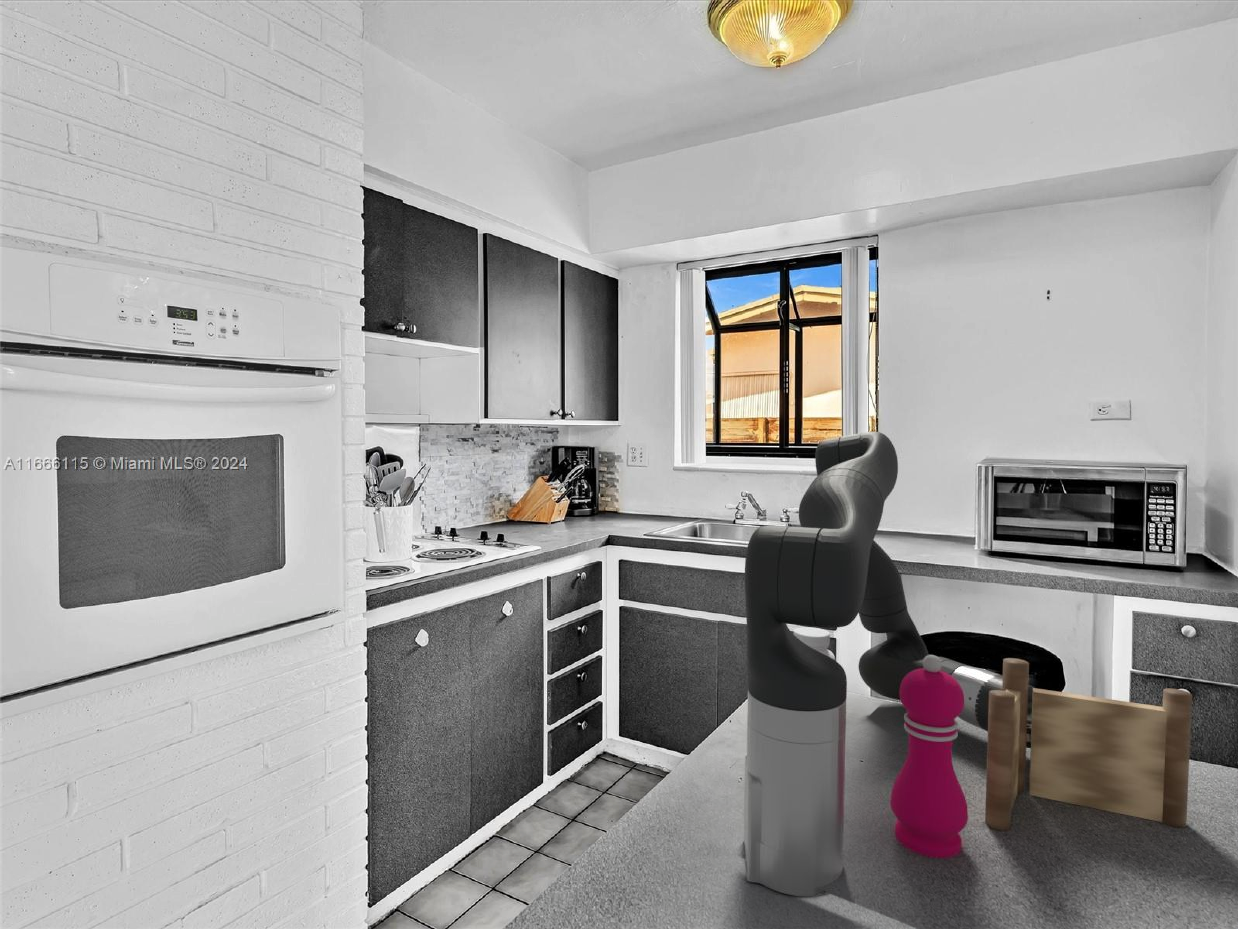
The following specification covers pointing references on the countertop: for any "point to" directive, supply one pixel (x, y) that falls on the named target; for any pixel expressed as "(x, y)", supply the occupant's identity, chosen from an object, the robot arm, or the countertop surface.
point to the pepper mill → (930, 764)
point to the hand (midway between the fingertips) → (1135, 757)
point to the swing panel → (1113, 753)
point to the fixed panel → (1006, 743)
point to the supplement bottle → (815, 639)
